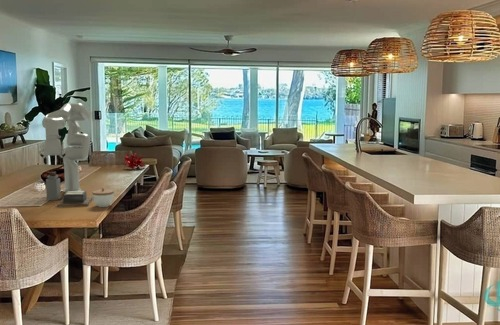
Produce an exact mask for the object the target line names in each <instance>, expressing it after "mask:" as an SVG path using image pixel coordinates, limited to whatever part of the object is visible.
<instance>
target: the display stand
mask: <svg viewBox="0 0 500 325" xmlns="http://www.w3.org/2000/svg"><path fill="white" fill-rule="evenodd" d="M92 201H93V196H87V190H82V191H67V192H64V193H63V195H62V198H61V199H60V201H59V202H58V203H57V204H56V208H66V207H88V206H89V205H90V204H91V202H92ZM89 203H90V204H89Z"/></svg>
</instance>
